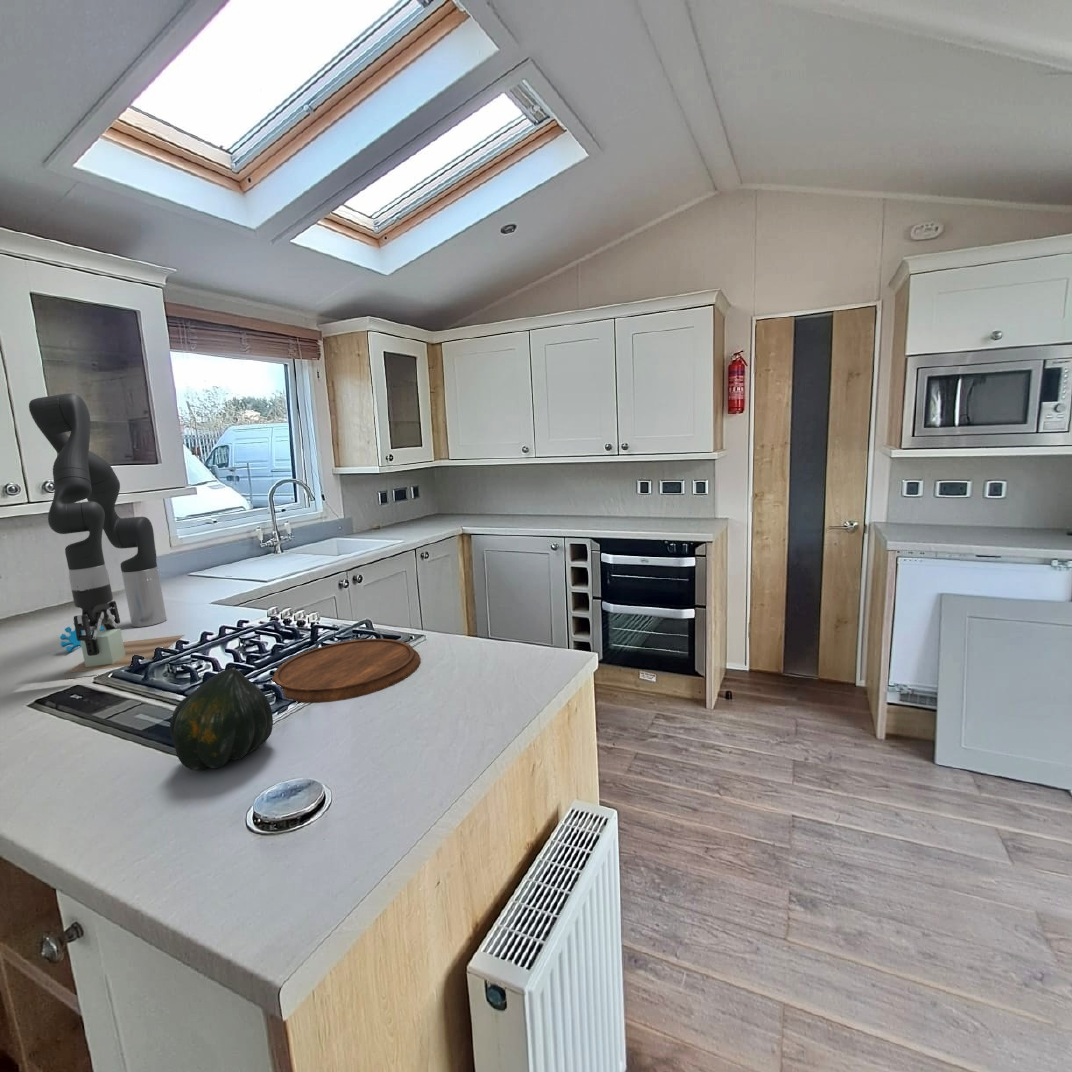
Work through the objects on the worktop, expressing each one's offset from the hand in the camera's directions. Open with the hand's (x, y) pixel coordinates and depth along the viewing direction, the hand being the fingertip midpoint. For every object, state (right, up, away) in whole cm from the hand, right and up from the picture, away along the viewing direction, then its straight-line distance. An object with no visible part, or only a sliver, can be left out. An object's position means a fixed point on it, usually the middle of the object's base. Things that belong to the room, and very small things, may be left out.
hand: (103, 649), depth 144 cm
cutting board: (+64, -3, -13) cm, 66 cm away
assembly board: (+2, -4, +6) cm, 7 cm away
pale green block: (0, -3, +1) cm, 3 cm away
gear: (-17, -4, +17) cm, 24 cm away
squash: (+55, -9, -47) cm, 73 cm away
